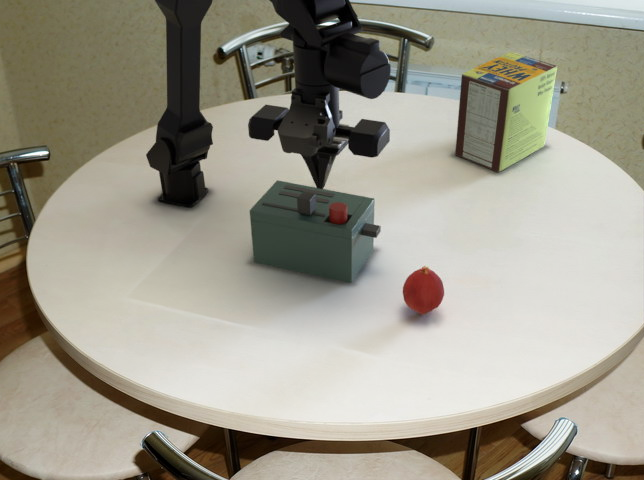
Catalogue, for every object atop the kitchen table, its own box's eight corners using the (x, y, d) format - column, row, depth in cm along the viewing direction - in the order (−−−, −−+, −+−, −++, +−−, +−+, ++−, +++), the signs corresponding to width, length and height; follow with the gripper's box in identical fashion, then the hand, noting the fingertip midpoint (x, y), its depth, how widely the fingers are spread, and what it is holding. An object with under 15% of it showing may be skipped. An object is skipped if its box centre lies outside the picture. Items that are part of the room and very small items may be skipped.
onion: (399, 301, 124) (402, 254, 119) (439, 300, 124) (443, 253, 119) (404, 325, 119) (406, 278, 114) (444, 324, 120) (449, 276, 115)
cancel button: (326, 222, 123) (326, 209, 122) (333, 214, 125) (333, 200, 124) (343, 226, 123) (343, 212, 121) (349, 217, 125) (349, 204, 123)
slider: (297, 213, 124) (296, 198, 122) (303, 205, 126) (303, 190, 124) (310, 215, 124) (309, 200, 122) (316, 207, 125) (316, 193, 124)
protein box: (545, 146, 163) (558, 65, 153) (498, 173, 154) (509, 89, 144) (500, 130, 168) (510, 50, 158) (453, 155, 160) (460, 72, 149)
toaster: (253, 262, 131) (249, 209, 125) (280, 230, 138) (277, 179, 132) (366, 286, 127) (367, 233, 121) (387, 252, 134) (389, 200, 128)
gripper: (224, 91, 108) (236, 202, 118) (363, 111, 103) (363, 225, 113) (261, 61, 116) (270, 168, 126) (392, 79, 111) (389, 188, 121)
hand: (320, 187), depth 121 cm, fingers closed
